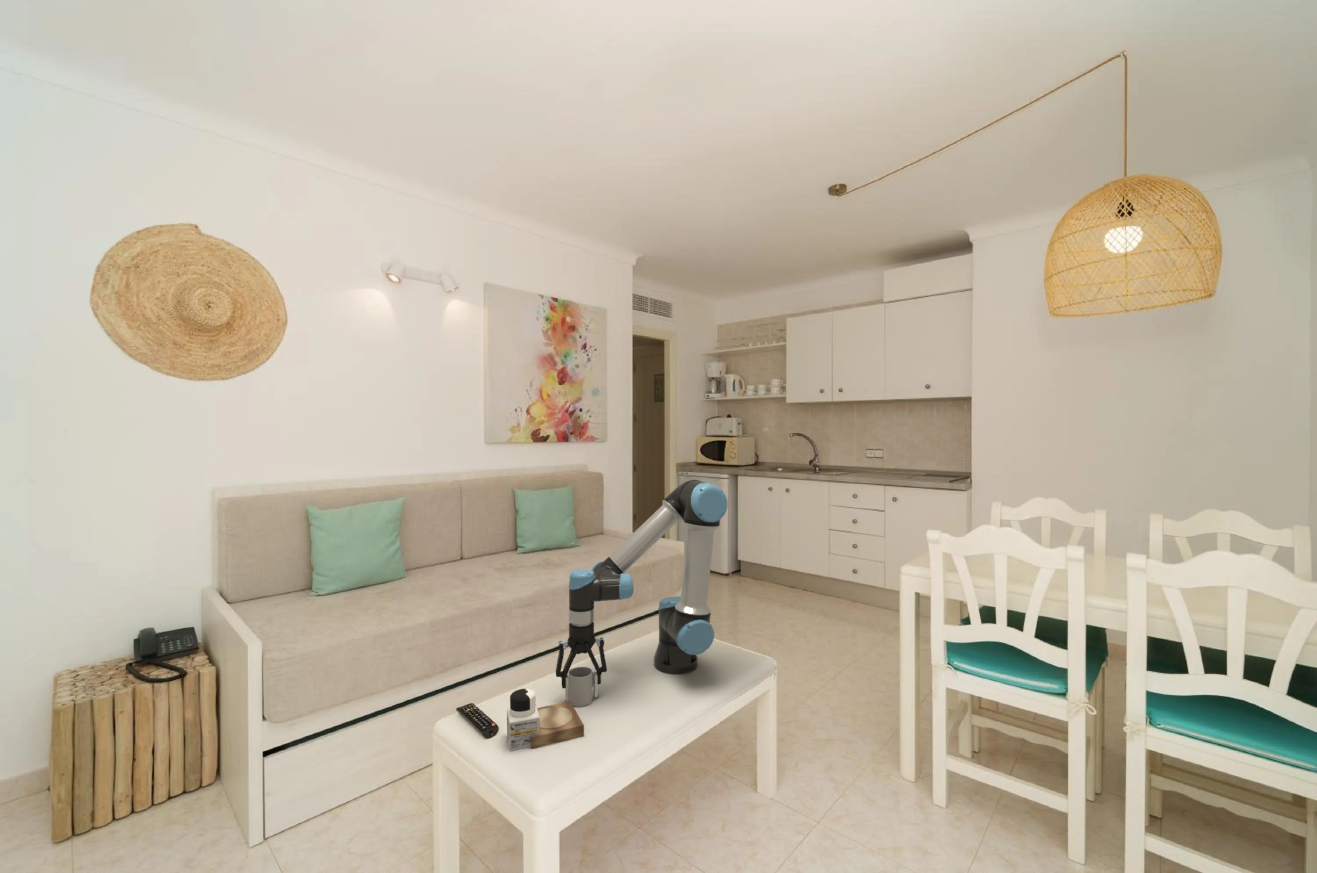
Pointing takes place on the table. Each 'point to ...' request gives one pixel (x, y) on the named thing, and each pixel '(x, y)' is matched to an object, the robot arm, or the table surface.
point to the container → (522, 719)
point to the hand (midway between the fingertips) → (581, 696)
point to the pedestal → (557, 724)
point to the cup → (581, 686)
